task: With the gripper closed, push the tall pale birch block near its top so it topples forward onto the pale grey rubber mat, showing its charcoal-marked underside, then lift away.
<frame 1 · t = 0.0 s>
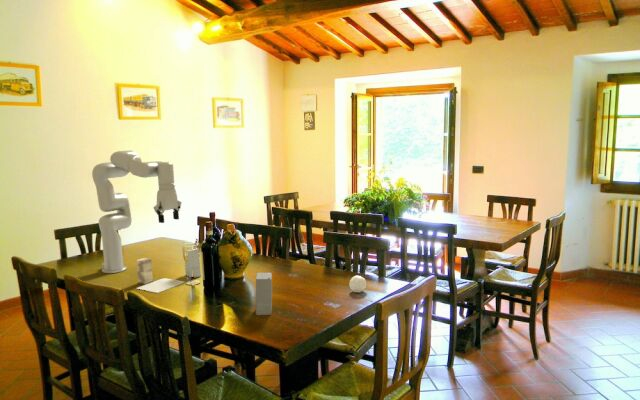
hand: (169, 220, 237), 31 cm above the table, tool pointing down, fingers open, 9 cm apart
skincare box 2: (193, 276, 249), on the table
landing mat: (161, 285, 234), on the table
geometric ball: (357, 292, 219), on the table
skincare box: (264, 312, 197), on the table
birch block: (145, 282, 240), on the table
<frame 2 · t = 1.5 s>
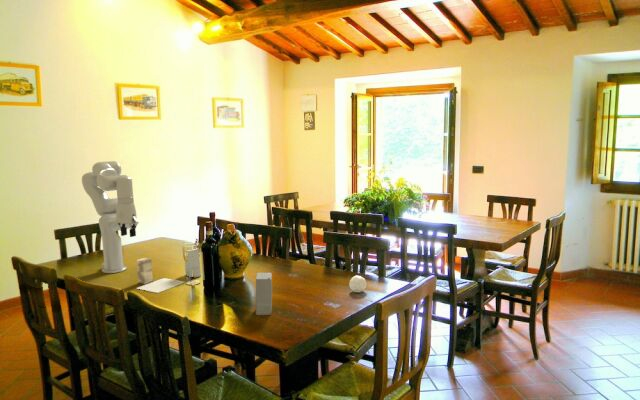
hand: (128, 235, 241), 24 cm above the table, tool pointing down, fingers open, 5 cm apart
nothing on the table moved.
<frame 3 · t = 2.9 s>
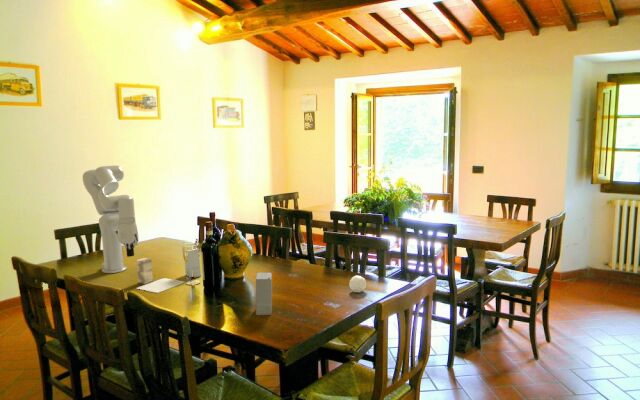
hand: (130, 255, 242), 13 cm above the table, tool pointing down, fingers closed
nothing on the table moved.
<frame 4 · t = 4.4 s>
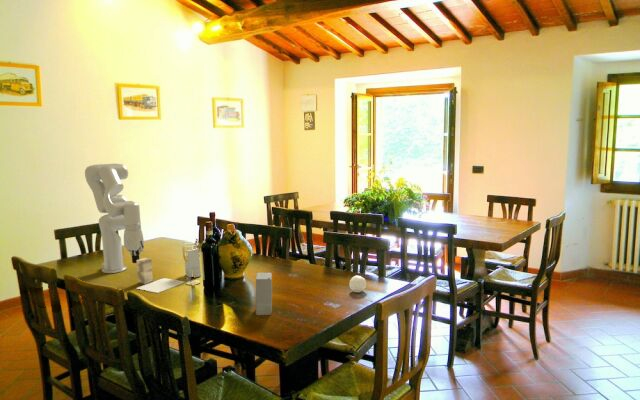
hand: (136, 262, 241), 10 cm above the table, tool pointing down, fingers closed
nothing on the table moved.
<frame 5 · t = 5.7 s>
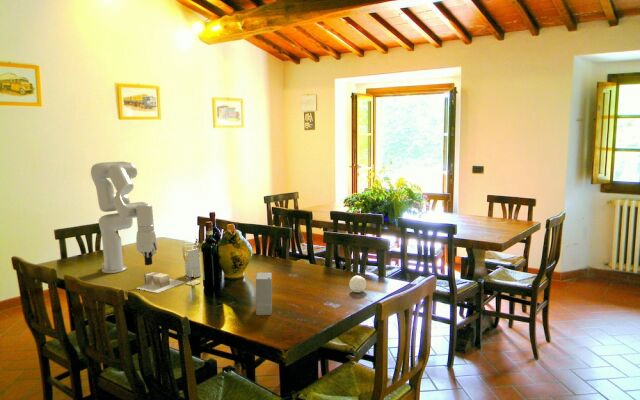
hand: (148, 264, 237), 10 cm above the table, tool pointing down, fingers closed
birch block: (148, 277, 238), point 3 cm above the table, tilted 90°, touching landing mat
everything else where it was.
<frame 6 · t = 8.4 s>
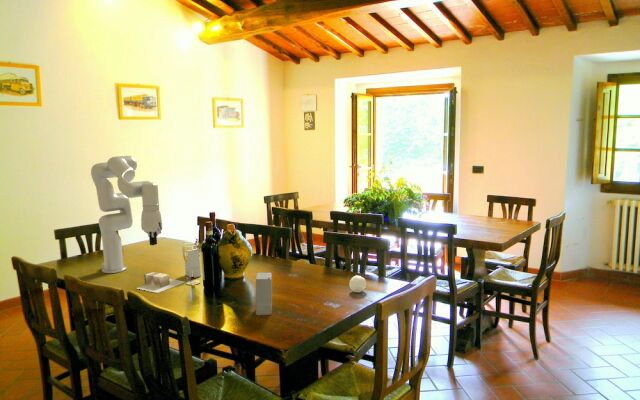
hand: (153, 244, 233), 20 cm above the table, tool pointing down, fingers closed
nothing on the table moved.
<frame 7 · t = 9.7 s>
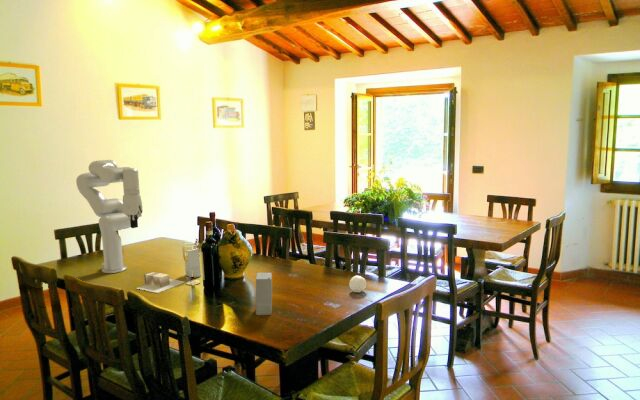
hand: (134, 227, 244), 27 cm above the table, tool pointing down, fingers closed
nothing on the table moved.
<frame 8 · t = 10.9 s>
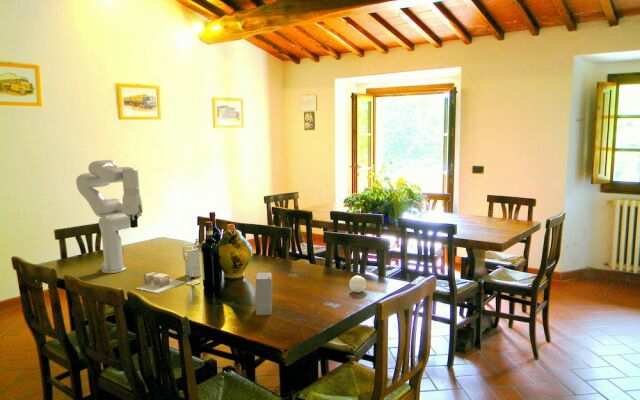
hand: (134, 227, 244), 27 cm above the table, tool pointing down, fingers closed
nothing on the table moved.
at the end: birch block tilted 90°; birch block touching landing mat; birch block inside the target area (2.5 cm from its centre), point 2.8 cm above the table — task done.
